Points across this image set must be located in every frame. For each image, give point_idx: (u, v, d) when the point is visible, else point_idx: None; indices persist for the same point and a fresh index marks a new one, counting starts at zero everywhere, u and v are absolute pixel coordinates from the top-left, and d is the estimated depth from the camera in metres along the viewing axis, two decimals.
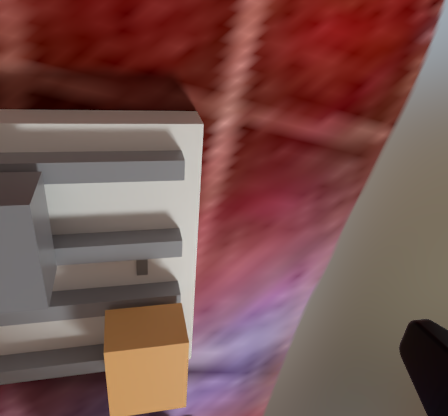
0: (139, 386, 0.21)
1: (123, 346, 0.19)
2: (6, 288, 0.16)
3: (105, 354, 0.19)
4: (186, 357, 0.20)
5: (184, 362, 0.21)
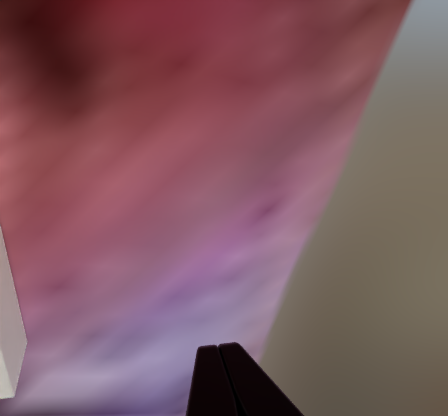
0: None
1: None
2: None
3: None
4: None
5: None
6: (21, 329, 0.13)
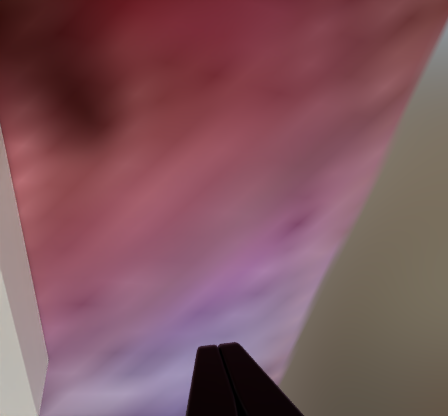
0: None
1: None
2: None
3: None
4: None
5: None
6: (43, 348, 0.12)
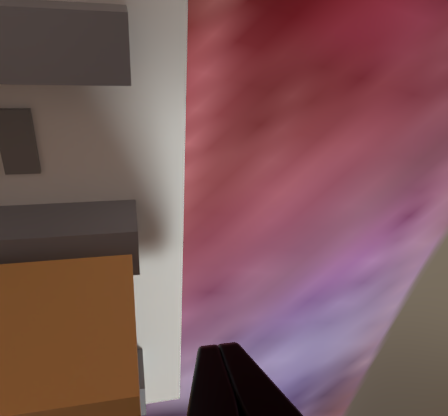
0: None
1: None
2: None
3: None
4: None
5: None
6: None
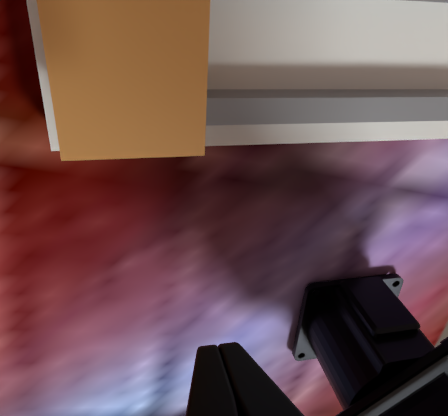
0: (113, 76, 0.10)
1: None
2: None
3: None
4: (206, 6, 0.10)
5: (202, 22, 0.10)
6: None
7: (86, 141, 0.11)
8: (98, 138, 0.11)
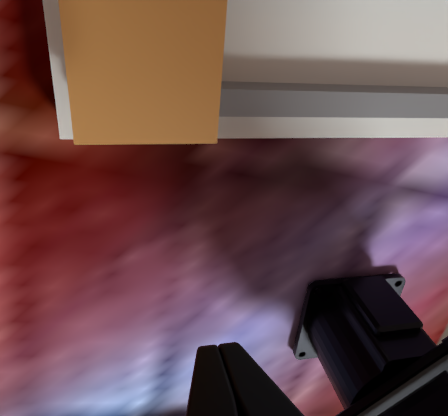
0: (129, 59, 0.10)
1: None
2: None
3: None
4: None
5: (219, 8, 0.10)
6: None
7: (100, 125, 0.11)
8: (112, 123, 0.11)
